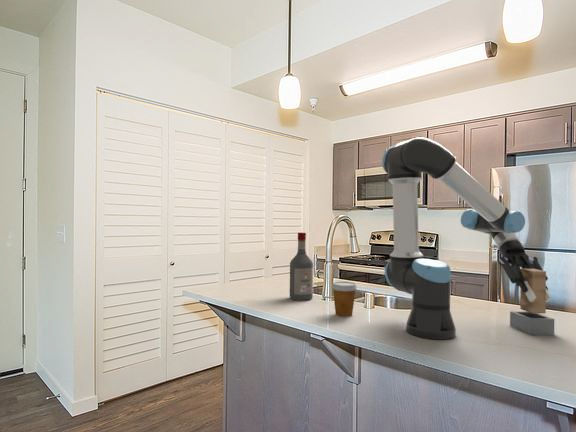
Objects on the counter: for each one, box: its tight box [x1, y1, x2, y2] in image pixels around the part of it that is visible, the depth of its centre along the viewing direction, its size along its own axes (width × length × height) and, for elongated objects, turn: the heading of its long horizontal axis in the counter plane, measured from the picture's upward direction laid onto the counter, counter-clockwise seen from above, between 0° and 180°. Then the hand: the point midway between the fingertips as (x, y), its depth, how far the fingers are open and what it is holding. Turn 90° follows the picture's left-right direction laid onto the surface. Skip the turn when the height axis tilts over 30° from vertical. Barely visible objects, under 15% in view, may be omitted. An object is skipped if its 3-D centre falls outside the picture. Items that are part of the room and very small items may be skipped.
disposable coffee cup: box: [331, 281, 358, 318], centre depth 144 cm, size 10×10×12 cm
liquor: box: [289, 232, 314, 302], centre depth 171 cm, size 9×9×30 cm
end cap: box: [509, 310, 555, 336], centre depth 128 cm, size 10×8×5 cm
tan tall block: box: [519, 268, 547, 314], centre depth 128 cm, size 6×4×14 cm
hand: (540, 299), depth 124 cm, fingers closed on tan tall block, 4 cm apart
